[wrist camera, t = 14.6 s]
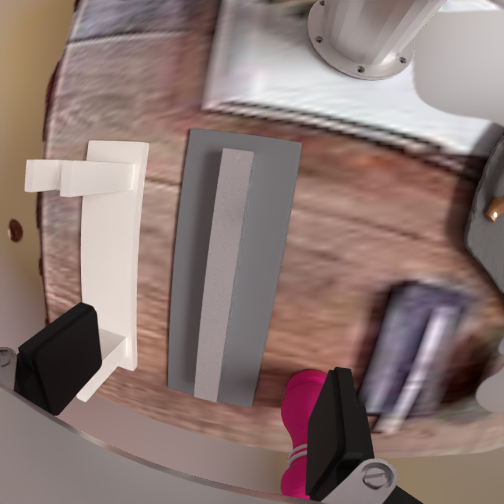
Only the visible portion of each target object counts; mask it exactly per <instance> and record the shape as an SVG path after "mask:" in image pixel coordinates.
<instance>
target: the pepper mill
mask: <svg viewBox="0 0 504 504" xmlns="http://www.w3.org/2000/svg"><path fill="white" fill-rule="evenodd" d="M326 376H327V374H326V373H324V372H322V371H318V370H305V371H302V372H299V373H297V374H296V375H294V376H293V377H292V378H291V379H290V380H289V381H288V384H287V387H286V396H285V398H284V399H283V402H282V405H281V416H282V420H283V423H284V426H285V427H286V429H287V430H288V432H289V434H290V436H291V438H292V442H293V450H292V451H291V452H290V453H289V455H288V464H287V467H288V469H287V470H286V472H285V473H284V474H283V476H282V479H281V492H282V495H284V496H290V497H296V498H302V499H307V500H310V496H306V495H305V484H306V463H307V432H308V421H309V417H310V415H311V413H312V410H313V408H314V406H315V403H316V401H317V399H318V396H319V394H320V391H321V389H322V386H323V384H324V381H325V379H326Z"/></svg>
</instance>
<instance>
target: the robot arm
mask: <svg viewBox="0 0 504 504" xmlns="http://www.w3.org/2000/svg"><path fill="white" fill-rule="evenodd" d="M445 2H446V0H318V1H317V2H316V3H315V4H314V5H313V7H312V8H311V10H310V12H309V16H308V22H307V28H308V35H309V38H310V41H311V43H312V45H313V46H314V48H315V50H316V51H317V52H318V54H319V55H320V56H321V57H322V58H323V59H324V60H325V61H326V62H328V63H329V64H330V65H331V66H333V67H334V68H336V69H337V70H339V71H341V72H343V73H345V74H347V75H350V76H353V77H356V78H360V79H366V80H383V79H387V78H391V77H393V76H395V75H397V74H399V73H400V72H402V71H403V70H404V69H405V68H406V67H407V66H408V65H409V64H410V62H411V60H412V58H413V55H414V51H415V40H414V37H415V35H416V34H417V33H418V32H419V31H420V30H421V29H422V28H423V26H424V25H425V24H426V23H427V22H428V21H429V20H430V18H431V17H432V16H433V15H434V14H435V13H436V12H437V11H438V9H439V8H440V7H441V6H442V5H443V4H444V3H445ZM317 41H320V42H321V43H319V42H317ZM400 61H401V62H402V63H401V62H400ZM357 70H360V71H361V73H360V72H358V71H357ZM18 349H19V353H18V354H16V353H15V351H14V350H12V349H11V348H8V347H0V504H423V503H421V502H420V501H418V500H417V499H415V498H414V497H412V496H411V495H410V494H408V493H407V492H405V491H404V490H402V489H401V488H400V487H398V486H397V483H398V474H397V471H396V470H395V468H394V467H393V466H392V465H391V464H390V463H388V462H386V461H384V460H380V459H375V458H374V452H373V446H372V440H371V434H370V429H369V423H368V418H367V413H366V408H365V406H364V405H363V404H357V399H356V393H355V388H354V382H353V377H352V372H351V369H348V368H341V367H335V368H334V370H329V372H328V374H327V376H326V379H325V381H324V384H323V386H322V389H321V391H320V394H319V396H318V399H317V401H316V403H315V406H314V408H313V410H312V413H311V415H310V417H309V421H308V432H307V463H306V484H305V495H306V496H310V500H307V499H302V498H296V497H290V496H284V495H278V494H271V493H266V492H260V491H255V490H250V489H245V488H240V487H236V486H231V485H227V484H222V483H218V482H214V481H210V480H207V479H203V478H199V477H196V476H192V475H189V474H186V473H182V472H179V471H176V470H173V469H170V468H167V467H164V466H161V465H158V464H155V463H153V462H150V461H147V460H145V459H142V458H140V457H137V456H135V455H132V454H130V453H127V452H125V451H122V450H120V449H118V448H116V447H113V446H111V445H109V444H107V443H105V442H102V441H100V440H98V439H96V438H94V437H92V436H90V435H88V434H86V433H84V432H82V431H80V430H78V429H76V428H74V427H73V426H71V425H69V424H67V423H65V422H64V421H62V420H60V419H58V418H57V417H55V415H56V416H57V415H59V414H60V413H61V412H62V411H63V410H64V408H65V407H66V406H67V405H68V404H69V403H70V402H71V400H72V399H73V398H74V397H75V396H76V395H77V394H78V393H79V392H80V390H81V389H82V388H83V387H84V386H85V385H86V384H87V383H88V382H89V380H90V379H91V378H92V377H93V376H94V375H95V374H96V373H97V372H98V371H99V369H100V368H101V366H102V355H101V347H100V338H99V328H98V317H97V312H96V311H95V309H94V307H93V306H91V305H89V304H86V303H83V302H80V303H78V304H77V305H76V306H74V307H73V308H71V309H70V310H69V311H67V312H66V313H64V314H63V315H62V316H60V317H59V318H57V319H56V320H55V321H53V322H52V323H50V324H49V325H48V326H46V327H45V328H44V329H42V330H41V331H40V332H38V333H37V334H36V335H34V336H33V337H32V338H30V339H29V340H28V341H26V342H25V343H24V344H22V345H21V346H20V347H18Z"/></svg>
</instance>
